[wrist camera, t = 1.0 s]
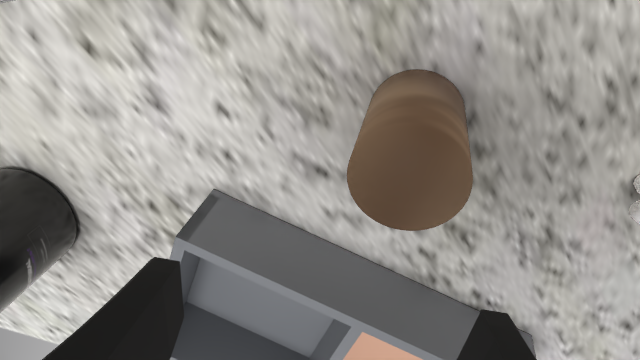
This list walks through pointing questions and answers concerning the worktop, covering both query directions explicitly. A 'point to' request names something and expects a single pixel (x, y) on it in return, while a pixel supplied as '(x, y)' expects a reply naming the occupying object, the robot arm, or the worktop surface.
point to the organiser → (301, 296)
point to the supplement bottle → (30, 231)
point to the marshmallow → (636, 203)
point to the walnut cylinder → (412, 153)
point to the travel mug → (3, 0)
